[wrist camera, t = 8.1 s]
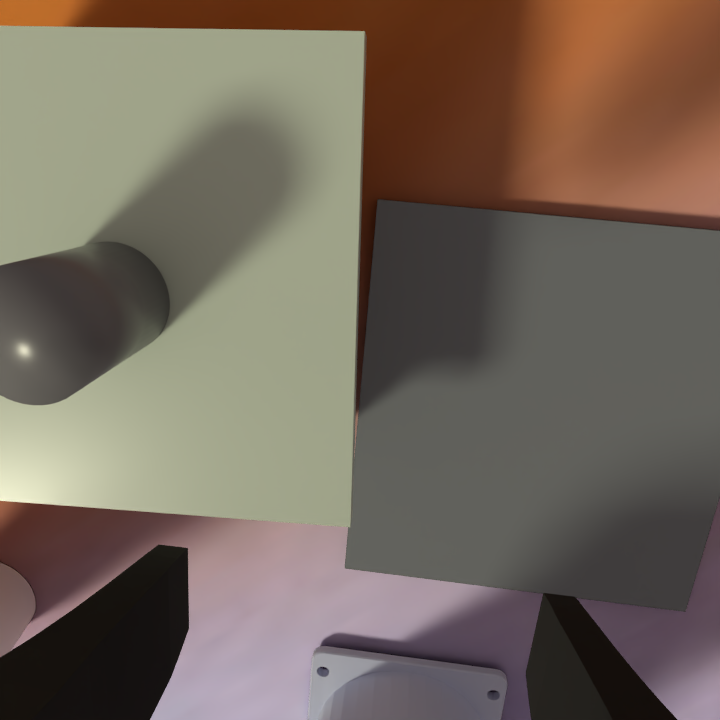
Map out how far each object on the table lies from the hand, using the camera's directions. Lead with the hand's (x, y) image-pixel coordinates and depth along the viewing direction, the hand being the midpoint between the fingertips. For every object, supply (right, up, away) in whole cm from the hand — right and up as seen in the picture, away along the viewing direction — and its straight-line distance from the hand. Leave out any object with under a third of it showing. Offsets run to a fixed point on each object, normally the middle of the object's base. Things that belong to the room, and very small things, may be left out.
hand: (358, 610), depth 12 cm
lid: (-6, +7, +5) cm, 10 cm away
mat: (+6, +3, +9) cm, 12 cm away
